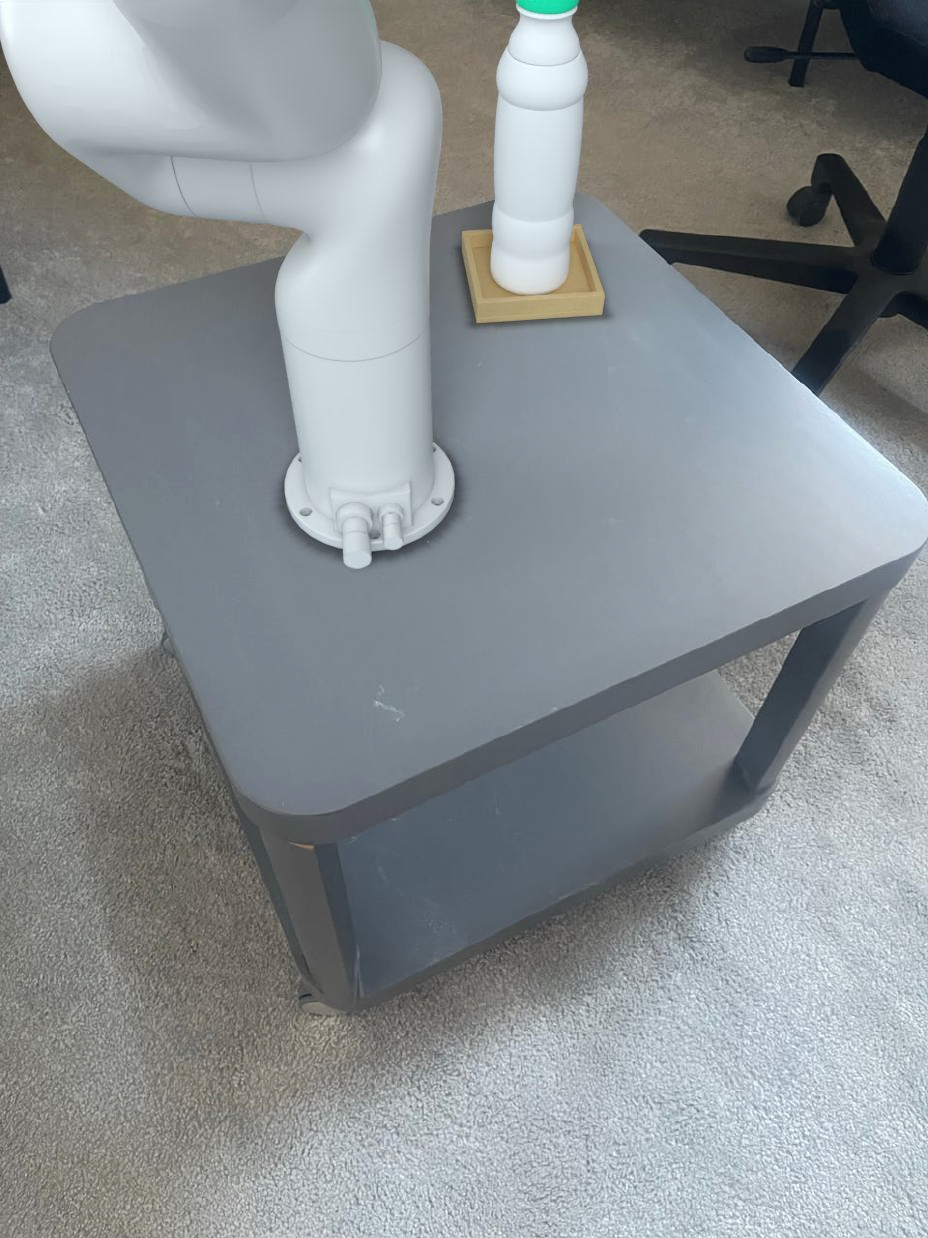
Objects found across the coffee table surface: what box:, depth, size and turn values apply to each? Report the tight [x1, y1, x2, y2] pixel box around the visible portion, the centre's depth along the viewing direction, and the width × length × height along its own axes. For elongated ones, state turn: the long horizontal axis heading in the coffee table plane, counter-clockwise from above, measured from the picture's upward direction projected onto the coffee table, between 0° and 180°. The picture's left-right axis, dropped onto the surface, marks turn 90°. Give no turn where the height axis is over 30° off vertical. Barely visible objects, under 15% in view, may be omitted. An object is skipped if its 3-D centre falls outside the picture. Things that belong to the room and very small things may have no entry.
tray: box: [461, 223, 606, 324], centre depth 91 cm, size 11×11×2 cm
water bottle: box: [490, 0, 589, 296], centre depth 81 cm, size 7×7×25 cm
